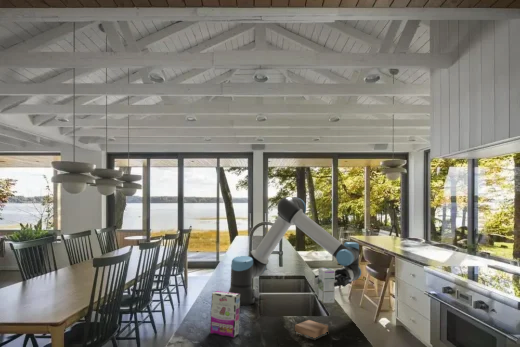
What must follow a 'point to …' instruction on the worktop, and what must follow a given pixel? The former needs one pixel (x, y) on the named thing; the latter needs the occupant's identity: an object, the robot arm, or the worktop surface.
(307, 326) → the wood block
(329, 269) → the syrup box
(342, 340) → the worktop surface
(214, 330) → the candy bar box
